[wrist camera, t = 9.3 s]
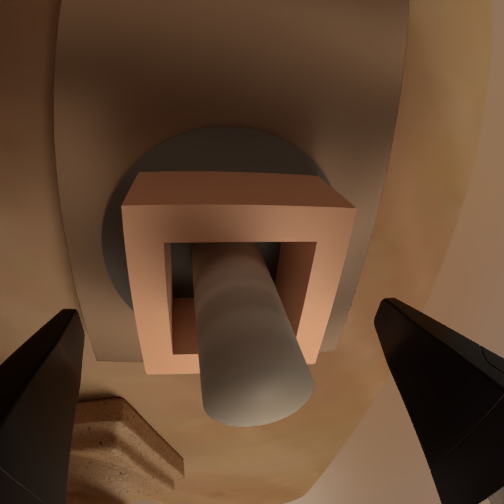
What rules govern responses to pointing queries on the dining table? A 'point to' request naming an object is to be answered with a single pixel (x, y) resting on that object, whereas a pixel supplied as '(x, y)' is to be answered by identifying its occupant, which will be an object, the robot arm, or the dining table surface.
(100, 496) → the candle holder
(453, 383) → the robot arm
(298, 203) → the collar
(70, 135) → the post board
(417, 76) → the dining table surface
